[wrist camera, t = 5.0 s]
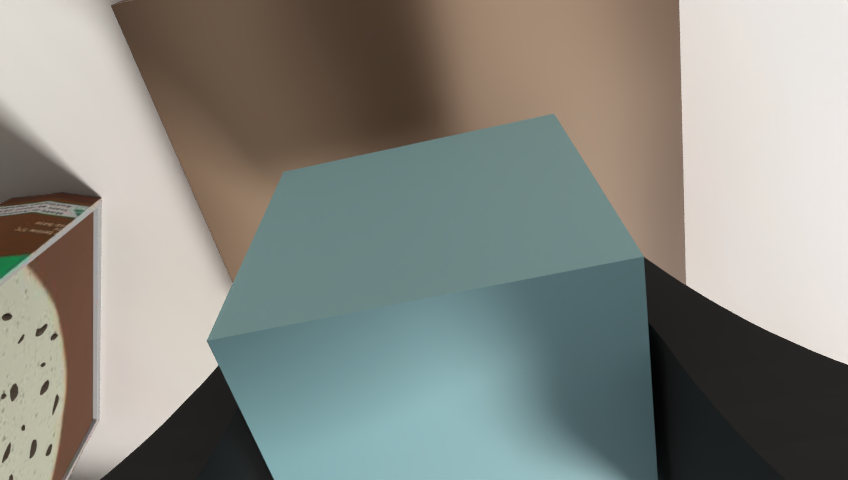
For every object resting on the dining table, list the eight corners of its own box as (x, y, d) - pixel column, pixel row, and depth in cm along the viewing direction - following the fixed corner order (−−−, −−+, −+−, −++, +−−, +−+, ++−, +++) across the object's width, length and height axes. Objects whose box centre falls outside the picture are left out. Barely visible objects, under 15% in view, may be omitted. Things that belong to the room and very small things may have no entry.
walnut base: (630, -132, 15) (676, -134, 13) (652, 280, 21) (687, 337, 18) (159, -15, 16) (111, 5, 14) (302, 346, 22) (288, 409, 20)
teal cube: (554, 113, 11) (643, 256, 7) (582, 334, 14) (661, 546, 9) (283, 171, 12) (207, 340, 7) (355, 376, 14) (330, 596, 10)
